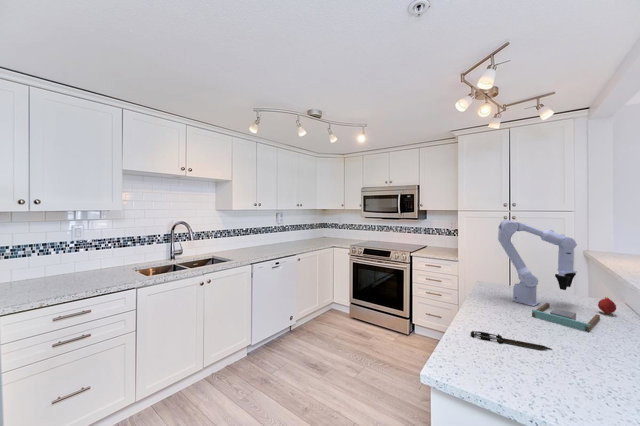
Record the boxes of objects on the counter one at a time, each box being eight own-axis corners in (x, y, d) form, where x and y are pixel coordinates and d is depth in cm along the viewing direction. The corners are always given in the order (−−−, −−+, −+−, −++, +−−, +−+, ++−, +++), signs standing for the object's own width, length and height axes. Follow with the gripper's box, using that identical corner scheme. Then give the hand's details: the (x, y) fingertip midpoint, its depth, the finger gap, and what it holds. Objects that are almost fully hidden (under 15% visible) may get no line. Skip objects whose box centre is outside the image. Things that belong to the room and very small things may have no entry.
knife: (551, 349, 97) (551, 345, 97) (555, 358, 92) (555, 354, 92) (471, 331, 111) (471, 328, 111) (470, 338, 106) (470, 334, 106)
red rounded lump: (607, 311, 129) (608, 295, 129) (619, 316, 123) (620, 299, 123) (594, 311, 130) (594, 294, 129) (605, 316, 124) (606, 299, 123)
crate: (549, 321, 120) (550, 312, 120) (555, 316, 125) (555, 308, 124) (571, 326, 114) (571, 317, 114) (575, 321, 119) (576, 312, 119)
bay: (531, 316, 124) (532, 310, 124) (546, 306, 136) (546, 300, 136) (588, 332, 109) (589, 324, 109) (599, 319, 120) (600, 312, 120)
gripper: (572, 264, 127) (571, 293, 128) (580, 260, 136) (579, 287, 136) (553, 261, 133) (552, 289, 133) (562, 258, 141) (561, 284, 142)
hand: (565, 288), depth 135 cm, fingers open, 7 cm apart
